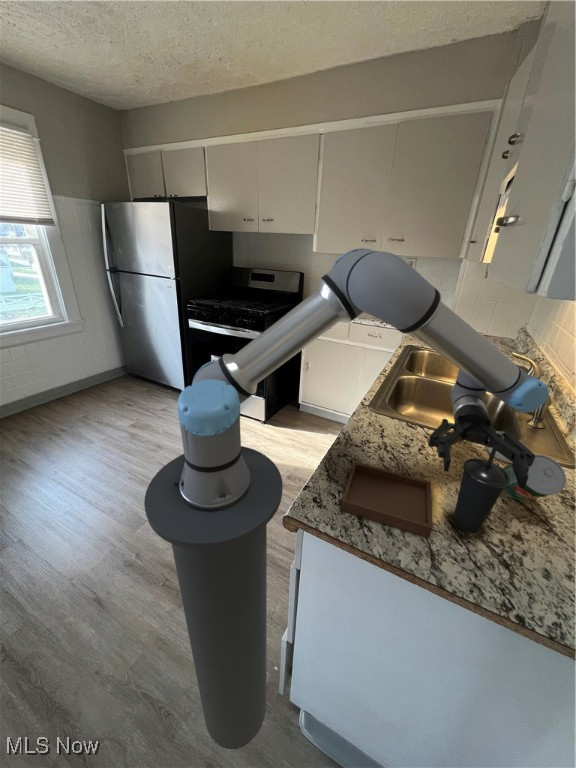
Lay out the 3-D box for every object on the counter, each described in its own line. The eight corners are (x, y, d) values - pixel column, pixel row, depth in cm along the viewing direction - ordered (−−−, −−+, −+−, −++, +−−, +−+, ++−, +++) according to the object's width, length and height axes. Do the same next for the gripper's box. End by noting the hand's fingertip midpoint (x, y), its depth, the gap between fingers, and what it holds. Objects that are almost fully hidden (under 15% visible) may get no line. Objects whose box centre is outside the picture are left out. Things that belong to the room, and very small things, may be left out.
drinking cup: (468, 506, 69) (497, 429, 60) (496, 535, 62) (533, 454, 53) (438, 511, 67) (463, 433, 58) (463, 542, 60) (495, 459, 52)
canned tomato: (511, 504, 71) (535, 500, 61) (491, 470, 74) (511, 461, 65) (546, 494, 70) (576, 487, 61) (524, 460, 74) (549, 449, 64)
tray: (340, 510, 66) (341, 500, 65) (352, 470, 78) (353, 461, 77) (429, 538, 61) (432, 527, 60) (428, 490, 72) (430, 481, 71)
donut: (530, 471, 80) (524, 450, 88) (535, 461, 78) (529, 440, 86) (485, 459, 84) (484, 439, 92) (489, 448, 82) (487, 429, 90)
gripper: (524, 440, 74) (556, 506, 56) (416, 421, 83) (413, 474, 65) (534, 412, 71) (571, 473, 53) (420, 396, 80) (418, 444, 61)
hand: (484, 474), depth 59 cm, fingers open, 12 cm apart
